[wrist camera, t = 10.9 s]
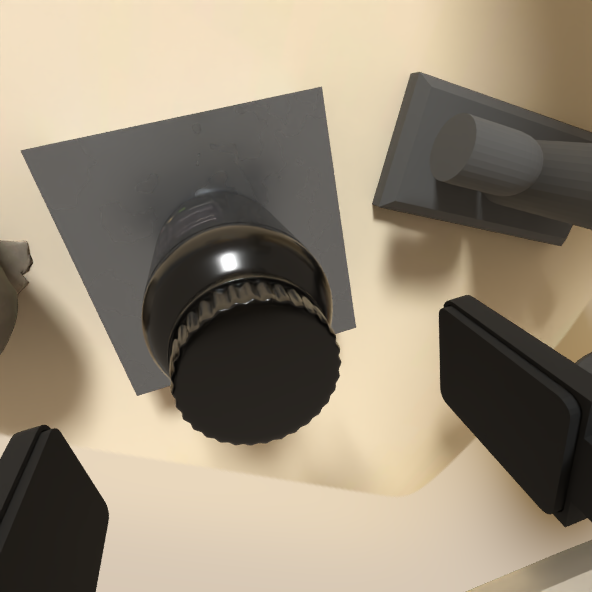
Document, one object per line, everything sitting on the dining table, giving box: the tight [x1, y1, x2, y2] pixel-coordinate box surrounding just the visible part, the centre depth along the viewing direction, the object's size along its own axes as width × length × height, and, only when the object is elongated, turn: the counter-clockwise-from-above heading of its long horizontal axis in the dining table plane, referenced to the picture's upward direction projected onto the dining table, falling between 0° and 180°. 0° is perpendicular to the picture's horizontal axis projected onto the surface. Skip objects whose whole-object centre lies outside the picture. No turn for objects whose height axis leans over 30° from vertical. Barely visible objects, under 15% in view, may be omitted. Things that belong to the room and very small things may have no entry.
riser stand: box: [21, 87, 356, 396], centre depth 24 cm, size 14×15×5 cm
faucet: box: [372, 72, 592, 374], centre depth 22 cm, size 18×16×20 cm
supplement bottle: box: [141, 192, 341, 445], centre depth 16 cm, size 7×7×12 cm
